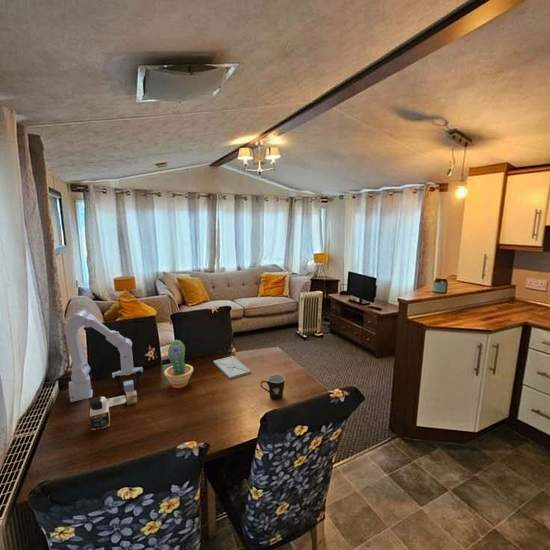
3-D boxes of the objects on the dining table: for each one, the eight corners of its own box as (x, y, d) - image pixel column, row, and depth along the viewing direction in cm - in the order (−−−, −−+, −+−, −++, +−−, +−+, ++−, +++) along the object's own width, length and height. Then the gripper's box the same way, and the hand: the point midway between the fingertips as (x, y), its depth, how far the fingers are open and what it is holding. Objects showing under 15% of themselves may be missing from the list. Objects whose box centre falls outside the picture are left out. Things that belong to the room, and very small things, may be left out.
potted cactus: (158, 387, 172) (155, 343, 168) (177, 375, 186) (175, 333, 182) (182, 393, 166) (179, 347, 162) (199, 380, 180) (197, 337, 176)
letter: (103, 408, 153) (103, 408, 153) (103, 400, 160) (103, 399, 160) (127, 402, 158) (127, 402, 158) (126, 394, 165) (126, 394, 165)
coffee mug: (287, 394, 165) (287, 376, 164) (280, 403, 158) (280, 384, 156) (267, 389, 170) (267, 372, 169) (259, 397, 163) (259, 379, 161)
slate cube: (124, 393, 166) (124, 385, 165) (124, 389, 170) (123, 381, 169) (134, 391, 168) (133, 383, 167) (133, 387, 172) (132, 380, 171)
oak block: (127, 405, 156) (126, 396, 155) (126, 400, 160) (126, 392, 159) (137, 402, 158) (136, 394, 157) (136, 398, 162) (135, 390, 161)
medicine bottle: (91, 431, 137) (88, 405, 135) (91, 422, 143) (89, 397, 141) (109, 426, 140) (107, 401, 138) (109, 417, 146) (107, 393, 144)
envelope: (229, 380, 181) (251, 374, 189) (229, 376, 181) (251, 370, 188) (213, 363, 201) (233, 358, 209) (213, 360, 201) (233, 355, 208)
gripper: (111, 368, 160) (113, 393, 162) (142, 362, 166) (144, 387, 169) (111, 363, 166) (113, 387, 168) (141, 357, 172) (143, 381, 175)
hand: (128, 386), depth 169 cm, fingers open, 7 cm apart
